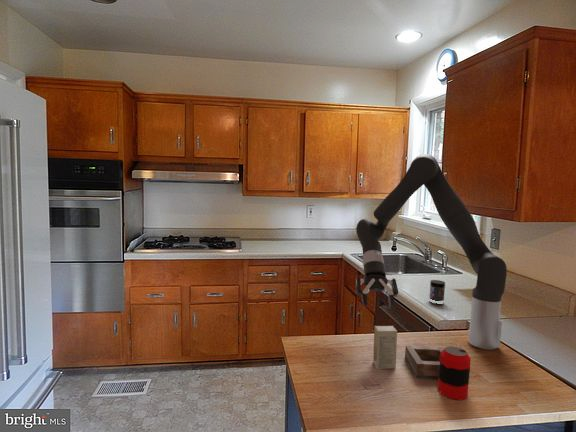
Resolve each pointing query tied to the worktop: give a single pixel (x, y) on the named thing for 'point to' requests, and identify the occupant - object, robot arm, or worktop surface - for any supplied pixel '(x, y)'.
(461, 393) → the soda can
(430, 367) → the walnut holder block
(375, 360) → the skincare box
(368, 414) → the worktop surface
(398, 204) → the robot arm
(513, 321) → the worktop surface
